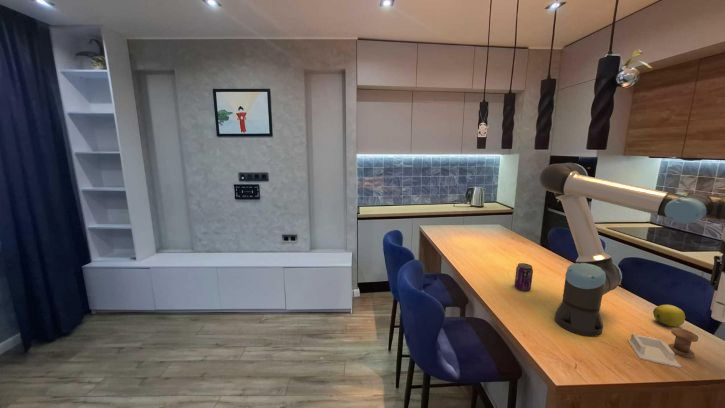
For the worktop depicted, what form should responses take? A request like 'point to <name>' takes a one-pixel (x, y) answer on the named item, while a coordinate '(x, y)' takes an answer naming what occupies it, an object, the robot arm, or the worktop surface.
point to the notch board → (653, 350)
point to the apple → (669, 315)
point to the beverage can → (523, 277)
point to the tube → (719, 300)
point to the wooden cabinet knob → (683, 342)
